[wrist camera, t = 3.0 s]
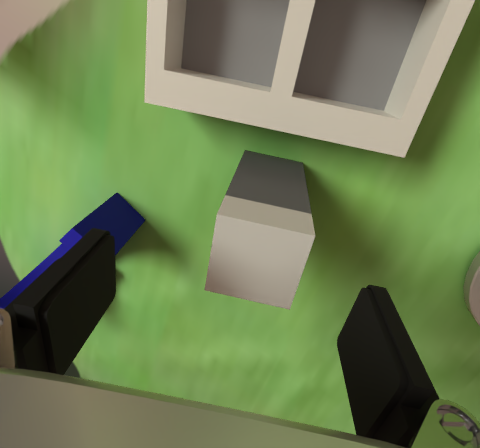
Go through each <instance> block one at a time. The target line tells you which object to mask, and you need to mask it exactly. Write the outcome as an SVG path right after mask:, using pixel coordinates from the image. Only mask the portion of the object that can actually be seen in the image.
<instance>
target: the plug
mask: <svg viewBox="0 0 480 448" xmlns="http://www.w3.org/2000/svg"><path fill="white" fill-rule="evenodd" d="M314 239H315V231H314V225H313V219H312V214H311V208H310V202H309V196H308V190H307V185H306V179H305V173H304V167H303V163H302V162H298V161H293V160H288V159H284V158H279V157H274V156H270V155H265V154H261V153H256V152H251V151H247V150H245V151H244V154H243V156H242V158H241V161H240V163H239V165H238V167H237V170H236V172H235V174H234V177H233V179H232V181H231V183H230V186H229V188H228V190H227V193H226V195H225V197H224V199H223V202H222V204H221V206H220V208H219V211H218V213H217V217H216V223H215V229H214V236H213V242H212V248H211V254H210V260H209V266H208V272H207V279H206V285H205V290H206V291H211V292H215V293H220V294H224V295H228V296H233V297H237V298H241V299H246V300H250V301H255V302H259V303H263V304H268V305H272V306H276V307H281V308H285V309H290V307H291V304H292V301H293V299H294V296H295V293H296V290H297V287H298V284H299V281H300V279H301V276H302V273H303V270H304V267H305V264H306V261H307V259H308V256H309V253H310V250H311V247H312V244H313V241H314Z"/></svg>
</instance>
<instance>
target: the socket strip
mask: <svg viewBox="0 0 480 448" xmlns="http://www.w3.org/2000/svg"><path fill="white" fill-rule="evenodd" d="M474 1H475V0H148V1H147V35H146V70H145V102H146V103H150V104H155V105H160V106H164V107H169V108H174V109H178V110H183V111H188V112H192V113H197V114H202V115H207V116H211V117H216V118H221V119H225V120H230V121H235V122H239V123H244V124H249V125H253V126H258V127H263V128H268V129H272V130H277V131H282V132H286V133H291V134H296V135H300V136H305V137H310V138H314V139H319V140H324V141H329V142H333V143H338V144H343V145H347V146H352V147H357V148H361V149H366V150H371V151H375V152H380V153H385V154H390V155H394V156H399V157H405V155H406V153H407V151H408V148H409V146H410V144H411V142H412V140H413V137H414V135H415V133H416V131H417V128H418V126H419V124H420V122H421V120H422V117H423V115H424V113H425V111H426V108H427V106H428V104H429V102H430V99H431V97H432V95H433V93H434V91H435V88H436V86H437V84H438V82H439V79H440V77H441V75H442V73H443V70H444V68H445V66H446V64H447V62H448V59H449V57H450V55H451V53H452V50H453V48H454V46H455V44H456V42H457V39H458V37H459V35H460V33H461V30H462V28H463V26H464V24H465V21H466V19H467V17H468V15H469V13H470V10H471V8H472V6H473V4H474Z"/></svg>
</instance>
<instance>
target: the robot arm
mask: <svg viewBox="0 0 480 448" xmlns="http://www.w3.org/2000/svg"><path fill="white" fill-rule="evenodd" d="M115 293H116V276H115V238H114V236H111V234H110V232H109V231H106V230H101V229H97V228H92V229H91V230H90V231H89V232H88V233H86V234H85V235H84V236H83V237H82V238H81V239H80V240H79V241H78V242H77V243H76V244H75V245H74V246H73V247H72V248H71V249H70V250H69V251H67V252H66V253H65V254H64V255H63V256H62V257H61V258H59V259H57V260H56V261H55V262H54V263H52V264H51V265H50V266H49V267H48V268H47V269H46V270H45V271H44V272H43V273H42V274H41V275H40V276H39V277H38V278H36V279H35V280H34V281H33V282H32V283H31V284H30V285H29V286H28V287H27V288H26V289H25V290H24V291H23V292H22V293H20V294H19V295H18V296H17V297H16V298H15V299H14V300H13V301H12V302H11V303H10V304H9V305H8V306H7V307H5V308H4V309H1V308H0V448H480V423H479V421H478V420H477V419H476V418H475V417H474V416H473V415H472V414H471V413H470V412H468V411H467V410H466V409H465V408H463V407H462V406H460V405H458V404H457V403H454V402H452V401H449V400H444V399H439V397H438V395H437V393H436V391H435V389H434V387H433V384H432V382H431V380H430V378H429V376H428V374H427V372H426V370H425V368H424V366H423V364H422V362H421V360H420V357H419V355H418V353H417V351H416V349H415V347H414V345H413V343H412V341H411V339H410V337H409V335H408V333H407V331H406V329H405V326H404V324H403V322H402V320H401V318H400V316H399V314H398V312H397V310H396V308H395V306H394V304H393V301H392V299H391V297H390V295H389V293H388V291H387V290H386V288H383V287H378V286H373V285H368V286H367V287H366V288H362V289H361V291H360V293H359V295H358V297H357V299H356V301H355V303H354V305H353V307H352V309H351V311H350V313H349V316H348V318H347V320H346V322H345V324H344V326H343V328H342V330H341V332H340V334H339V336H338V340H337V347H338V352H339V356H340V361H341V366H342V370H343V375H344V379H345V384H346V389H347V393H348V398H349V403H350V407H351V412H352V416H353V421H354V426H355V430H356V435H354V434H349V433H345V432H341V431H336V430H332V429H327V428H322V427H317V426H313V425H308V424H303V423H299V422H294V421H289V420H284V419H280V418H275V417H270V416H265V415H261V414H256V413H251V412H246V411H241V410H236V409H232V408H227V407H222V406H217V405H212V404H207V403H202V402H198V401H193V400H188V399H183V398H178V397H173V396H168V395H163V394H158V393H153V392H148V391H143V390H138V389H133V388H128V387H123V386H118V385H113V384H108V383H103V382H98V381H93V380H87V379H82V378H76V377H71V376H65V375H64V374H65V372H66V370H67V369H68V367H69V366H70V364H71V363H72V361H73V360H74V358H75V357H76V355H77V354H78V352H79V351H80V349H81V348H82V346H83V345H84V343H85V342H86V340H87V339H88V337H89V336H90V334H91V333H92V331H93V330H94V328H95V327H96V325H97V324H98V322H99V321H100V319H101V318H102V316H103V314H104V313H105V311H106V310H107V308H108V307H109V305H110V304H111V302H112V301H113V299H114V297H115ZM464 299H465V302H466V305H467V308H468V310H469V311H470V313H471V314H472V316H473V317H474V319H475V320H476V322H477V323H478V324H479V325H480V251H479V253H478V254H477V255H476V257H475V258H474V259H473V261H472V263H471V265H470V267H469V269H468V271H467V273H466V278H465V282H464Z"/></svg>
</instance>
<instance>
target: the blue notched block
mask: <svg viewBox="0 0 480 448" xmlns="http://www.w3.org/2000/svg"><path fill="white" fill-rule="evenodd" d="M144 221H145V219H144V218H143V217H142V216H141V215H140V214H139V213H138V212H137V211H136V210H135V209H134V208H133V207H132V206H131V205H130V204H129V203H128V202H127V201H126V200H125V199H124V198H123V197H122V196H121V195H120V194H119V193H115V194H114V195H113V196H112V197H110V198H109V199H108V200H107V201H105V202H104V203H103V204H102V205H100V206H99V207H98V208H97V209H95V210H94V211H93V212H92V213H90V214H89V215H88V216H87V217H85V218H84V219H83V220H82V221H80V222H79V223H78V224H77V225H75V226H74V227H73V228H72V229H71V230H70V231H69V232H68V233H67V234H66V235H65V236H64V237H63V238H62V239H60V240H59V241H60V242H61V243H62V244H61V245H60V246H59V247H58V248H57V249H56V250H55V251H54V252H52V253H51V254H50V255H49V256H48V257H47V258H46V259H45V260H44V261H43V262H41V263H40V264H39V265H38V266H37V267H36V268H35V269H34V270H33V271H31V272H30V273H29V274H28V275H27V276H26V277H25V278H23V279H22V280H21V281H20V282H19V283H18V284H17V285H15V286H14V287H13V288H12V289H11V290H10V291H9V292H8V293H6V294H5V295H4V296H3V297H2V298H0V308H1V309H4V308H5V307H7V306H8V305H9V304H10V303H11V302H12V301H13V300H14V299H15V298H16V297H17V296H18V295H19V294H20V293H22V292H23V291H24V290H25V289H26V288H27V287H28V286H29V285H30V284H31V283H32V282H33V281H34V280H35V279H36V278H38V277H39V276H40V275H41V274H42V273H43V272H44V271H45V270H46V269H47V268H48V267H49V266H50V265H51V264H52V263H54V262H55V261H56V260H57V259H59V258H61V257H62V256H63V255H64V254H65V253H66V252H67V251H69V250H70V249H71V248H72V247H73V246H74V245H75V244H76V243H77V242H78V241H79V240H80V239H81V238H82V237H83V236H84V235H85V234H86V233H88V232H89V231H90V230H91V229H92V228H97V229H101V230H106V231H109V232H110V234H111V236H114V238H115V255H116V254H117V253H118V252H119V250H120V249H121V248H122V247H123V246H124V245H125V243H126V242H127V241H128V240H129V239H130V238H131V236H132V235H133V234H134V233H135V232H136V231H137V229H138V228H139V227H140V226H141V225H142V224H143V222H144Z"/></svg>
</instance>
